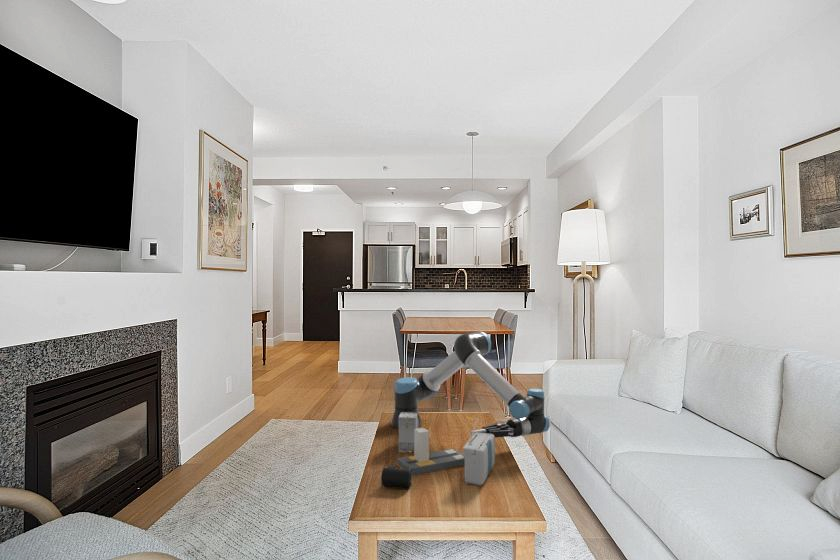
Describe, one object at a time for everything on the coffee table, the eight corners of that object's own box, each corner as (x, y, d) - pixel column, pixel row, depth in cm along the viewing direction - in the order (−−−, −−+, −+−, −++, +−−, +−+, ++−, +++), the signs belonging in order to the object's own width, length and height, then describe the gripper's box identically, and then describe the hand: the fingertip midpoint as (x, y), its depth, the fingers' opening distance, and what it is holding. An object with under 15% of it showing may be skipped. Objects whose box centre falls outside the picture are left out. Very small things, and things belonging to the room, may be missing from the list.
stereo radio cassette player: (484, 487, 172) (483, 431, 172) (461, 484, 174) (461, 429, 174) (495, 466, 191) (495, 416, 191) (475, 464, 194) (475, 414, 194)
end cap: (381, 490, 170) (381, 470, 170) (386, 481, 177) (386, 463, 177) (408, 492, 168) (408, 473, 168) (413, 484, 175) (413, 465, 175)
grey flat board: (397, 464, 193) (397, 458, 193) (453, 454, 204) (453, 448, 204) (409, 475, 182) (409, 468, 182) (468, 464, 194) (468, 457, 194)
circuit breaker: (419, 441, 221) (419, 409, 221) (415, 452, 207) (415, 417, 207) (402, 441, 221) (402, 408, 222) (398, 452, 207) (398, 417, 207)
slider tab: (414, 458, 193) (414, 428, 193) (423, 456, 194) (423, 427, 194) (419, 462, 188) (419, 432, 188) (428, 461, 190) (428, 431, 190)
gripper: (527, 440, 206) (480, 448, 196) (508, 431, 218) (463, 438, 208) (527, 422, 206) (480, 430, 196) (509, 415, 218) (464, 421, 207)
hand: (472, 434), depth 202 cm, fingers closed
